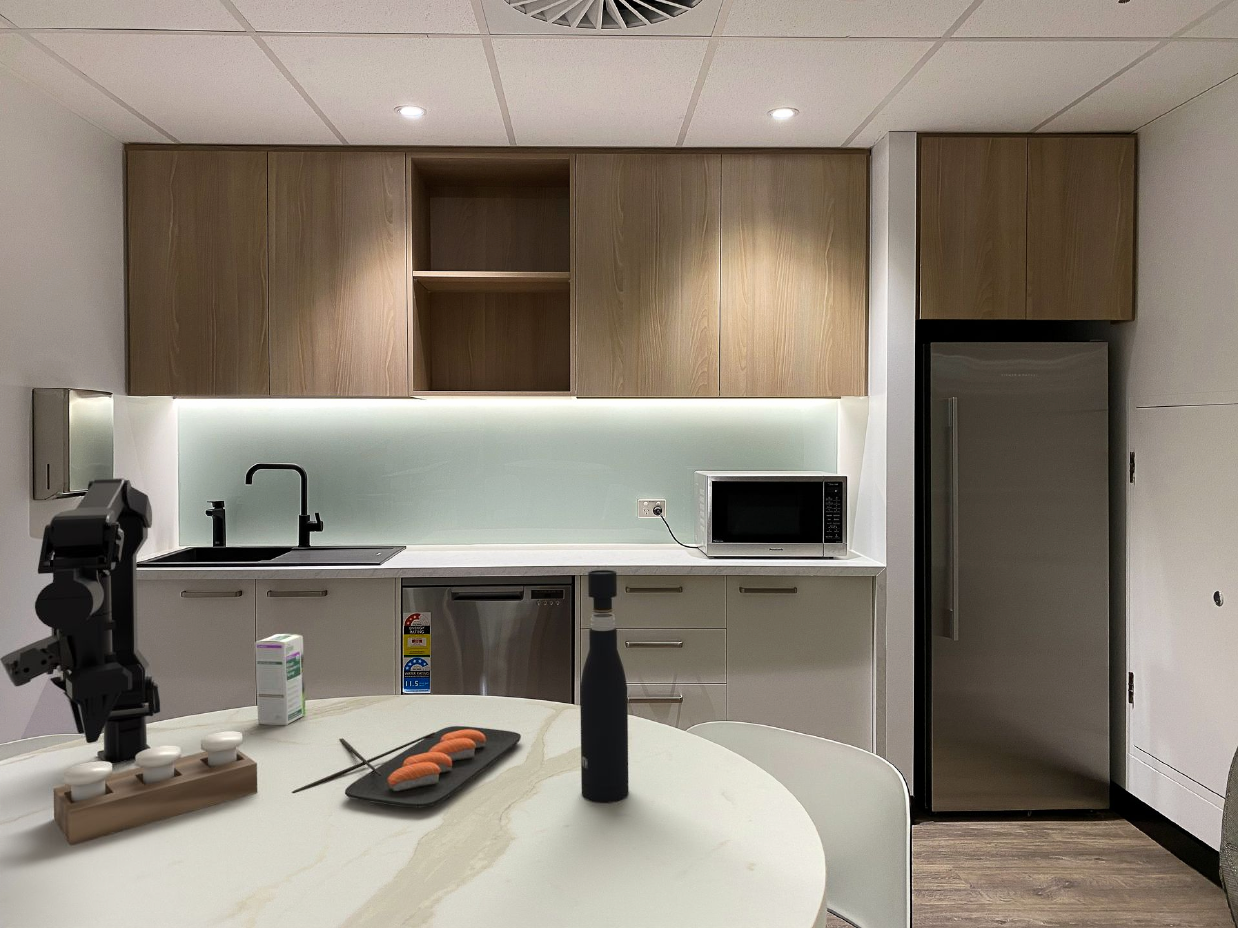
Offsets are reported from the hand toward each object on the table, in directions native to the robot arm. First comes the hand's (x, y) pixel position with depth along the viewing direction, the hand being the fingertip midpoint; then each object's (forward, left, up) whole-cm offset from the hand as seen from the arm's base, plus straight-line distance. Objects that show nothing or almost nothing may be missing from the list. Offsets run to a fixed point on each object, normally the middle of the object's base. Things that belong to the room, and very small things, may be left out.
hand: (87, 737), depth 105 cm
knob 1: (0, 0, -9) cm, 9 cm away
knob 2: (0, +16, -8) cm, 18 cm away
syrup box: (-24, +33, -11) cm, 43 cm away
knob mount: (0, +8, -11) cm, 14 cm away
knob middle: (0, +8, -8) cm, 12 cm away
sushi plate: (+9, +37, -12) cm, 40 cm away
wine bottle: (+39, +52, -11) cm, 66 cm away
